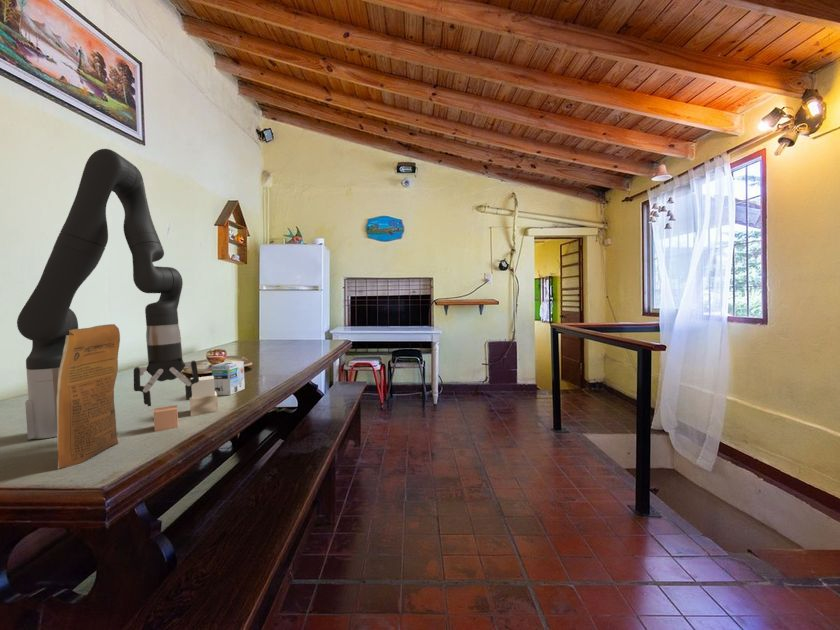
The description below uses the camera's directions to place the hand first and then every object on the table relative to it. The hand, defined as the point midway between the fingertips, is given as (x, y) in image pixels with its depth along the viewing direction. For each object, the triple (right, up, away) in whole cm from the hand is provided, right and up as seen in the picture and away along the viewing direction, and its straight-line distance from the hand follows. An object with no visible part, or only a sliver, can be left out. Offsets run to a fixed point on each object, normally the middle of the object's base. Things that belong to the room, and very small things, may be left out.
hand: (169, 402), depth 100 cm
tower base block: (+2, -6, +13) cm, 15 cm away
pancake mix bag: (-5, -7, -17) cm, 20 cm away
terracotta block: (0, -6, -1) cm, 6 cm away
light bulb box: (-3, -5, +38) cm, 38 cm away
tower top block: (+1, -1, +13) cm, 13 cm away
